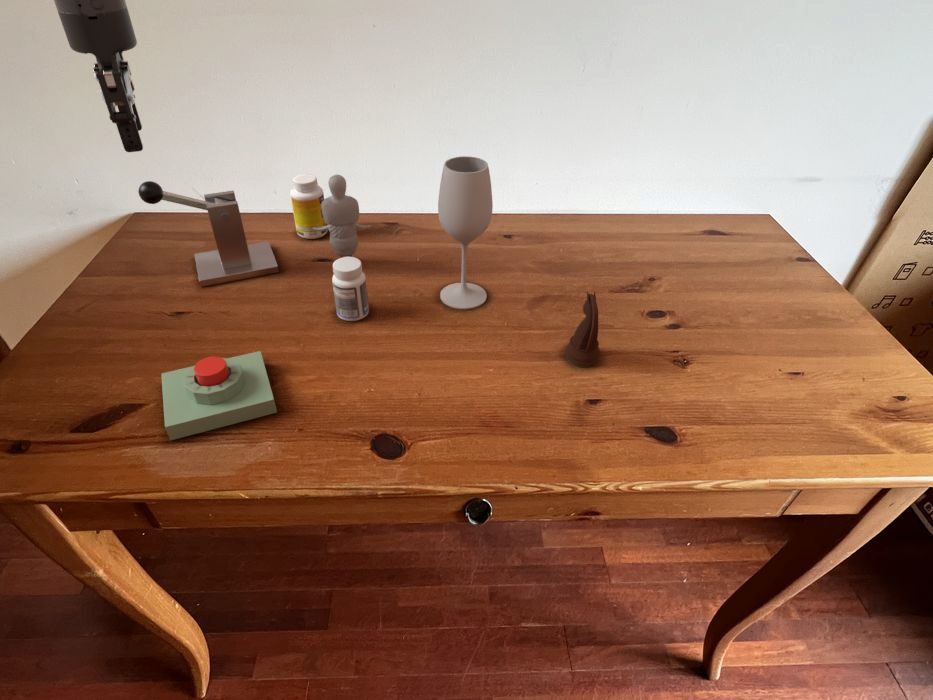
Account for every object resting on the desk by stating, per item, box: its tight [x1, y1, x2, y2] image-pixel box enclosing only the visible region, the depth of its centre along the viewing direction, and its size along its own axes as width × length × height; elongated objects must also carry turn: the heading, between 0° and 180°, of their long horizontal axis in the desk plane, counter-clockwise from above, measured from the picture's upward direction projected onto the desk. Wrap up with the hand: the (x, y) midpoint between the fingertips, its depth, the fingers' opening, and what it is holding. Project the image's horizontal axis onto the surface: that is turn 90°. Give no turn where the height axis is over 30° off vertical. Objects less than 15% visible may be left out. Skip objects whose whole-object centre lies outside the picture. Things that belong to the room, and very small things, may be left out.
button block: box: [160, 350, 278, 441], centre depth 73 cm, size 12×10×4 cm
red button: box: [194, 355, 229, 387], centre depth 72 cm, size 4×4×2 cm
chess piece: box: [564, 291, 600, 368], centre depth 79 cm, size 5×5×10 cm
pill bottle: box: [331, 256, 370, 322], centre depth 87 cm, size 5×5×8 cm
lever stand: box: [194, 190, 280, 288], centre depth 96 cm, size 12×9×12 cm
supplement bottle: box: [289, 173, 329, 240], centre depth 106 cm, size 6×6×10 cm
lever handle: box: [137, 180, 230, 211], centre depth 90 cm, size 13×3×3 cm, turn 114°
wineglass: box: [437, 155, 494, 310], centre depth 87 cm, size 8×8×21 cm
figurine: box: [312, 174, 373, 258], centre depth 97 cm, size 9×4×15 cm, turn 99°
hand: (134, 140), depth 83 cm, fingers open, 8 cm apart
